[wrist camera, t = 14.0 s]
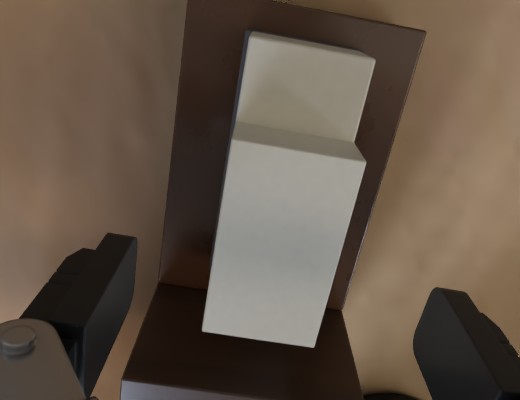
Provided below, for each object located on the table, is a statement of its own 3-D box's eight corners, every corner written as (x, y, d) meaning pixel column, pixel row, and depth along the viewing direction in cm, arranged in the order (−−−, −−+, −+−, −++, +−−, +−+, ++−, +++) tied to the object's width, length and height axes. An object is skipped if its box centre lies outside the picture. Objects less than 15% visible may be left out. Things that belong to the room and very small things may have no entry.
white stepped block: (246, 27, 17) (239, 38, 12) (360, 49, 17) (401, 68, 12) (211, 256, 21) (194, 338, 16) (305, 270, 21) (318, 356, 16)
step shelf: (202, -12, 20) (151, -25, 11) (398, 26, 21) (505, 43, 12) (164, 315, 27) (113, 473, 18) (312, 337, 28) (335, 501, 19)
